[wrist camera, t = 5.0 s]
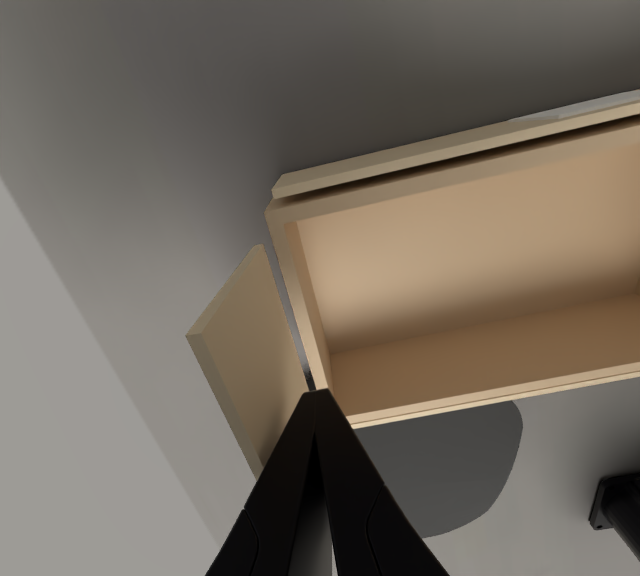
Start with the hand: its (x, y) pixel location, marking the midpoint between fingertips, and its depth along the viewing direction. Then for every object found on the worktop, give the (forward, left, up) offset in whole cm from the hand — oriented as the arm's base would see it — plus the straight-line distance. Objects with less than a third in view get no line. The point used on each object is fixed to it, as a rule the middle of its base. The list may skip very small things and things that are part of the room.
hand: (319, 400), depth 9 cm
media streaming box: (-14, -2, -9) cm, 17 cm away
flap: (0, +1, -3) cm, 3 cm away
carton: (0, -8, -8) cm, 12 cm away
